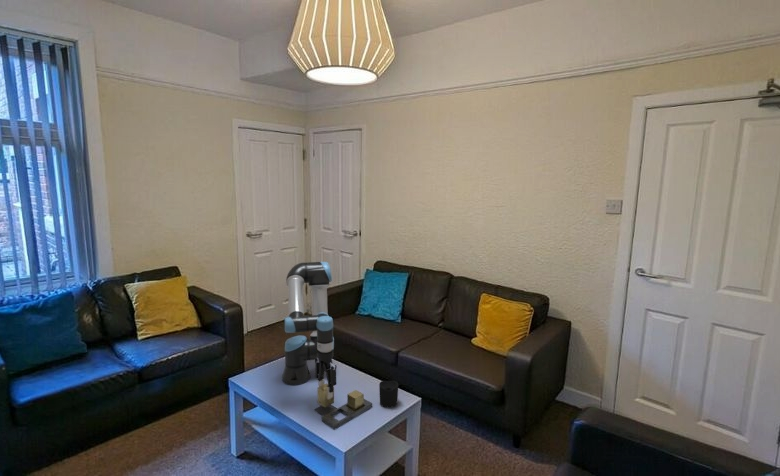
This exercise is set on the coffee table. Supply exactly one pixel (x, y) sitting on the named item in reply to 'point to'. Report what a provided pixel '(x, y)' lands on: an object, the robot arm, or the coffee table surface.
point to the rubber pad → (325, 409)
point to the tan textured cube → (324, 396)
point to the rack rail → (346, 411)
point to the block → (355, 400)
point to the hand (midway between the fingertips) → (325, 395)
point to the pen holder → (388, 393)
